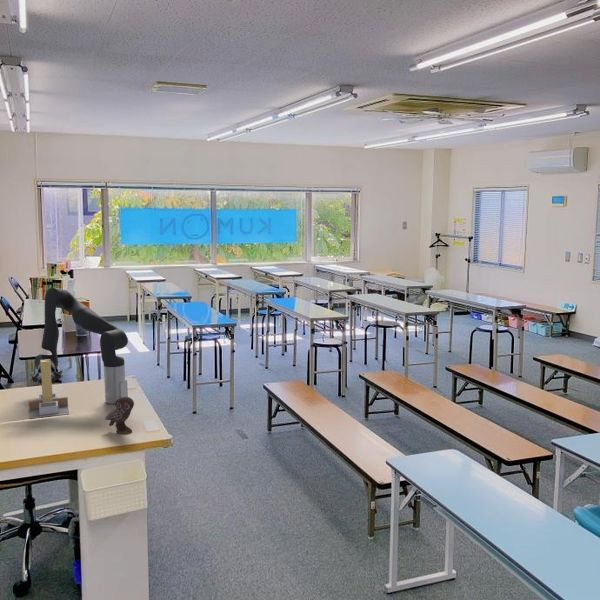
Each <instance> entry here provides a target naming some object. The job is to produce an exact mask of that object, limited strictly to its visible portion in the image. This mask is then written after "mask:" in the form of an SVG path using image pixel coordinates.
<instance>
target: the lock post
mask: <svg viewBox="0 0 600 600" xmlns="http://www.w3.org/2000/svg"><path fill="white" fill-rule="evenodd" d="M40 365H41V379H42V384H41V395H42V396H43V403H44V402H53V395H52V394H53V383H52V382H51V363H50V359H46V360H40Z"/></svg>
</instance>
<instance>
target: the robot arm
mask: <svg viewBox="0 0 600 600" xmlns="http://www.w3.org/2000/svg"><path fill="white" fill-rule="evenodd" d="M57 308H59V309H62V310H63V311H64V310H65V311H66V312H68V313H69V314H71V318H72V320H73V322H74V323H75V324H77V325H78V326H79V327H80V328H81V329H83V330H85V331H87V332H90V333H94V334H98V335H100V338H99V347H100V354H101V360H102V362H103V379H104V381H103V382H104V393H105V394H104V396H105V397H104V398H105V403H106V404H109V405H114V404H115V402H116V401H117V400H118V399H120V398H122V397H129V391H128V380H127V379H126V369H125V359H124V357H122V356H118V355H117V353H116V351H117V350H122V349H123V348H125V347H127V345H128V344H129V337H128V336H127V334H126V332H124V330H122V329H121V328H120V327H117V326H116V325H113V323H110V322H109V321H107V320H106V319H104V318H103V317H102V316H100V315H99V314H97V312H95V311H94V310H93V309H91V308H90V307H88V306H87V305H85V304H84V303H82V302H80V301H79V300H78V299H77V298H76V297H75V296H74V295H73V294H72V293H71V292H69V291H68V290H66V289H63V288H59V287H54V286H51V287H49V288H48V289H47V291H46V292H45V297H44V326H43V327H44V328H43V334H42V341H41V346H40V347H41V349H43V350H45V351H49V352H50V353H51V354H50V355H49V354H44V353H43V354H37V355H36V356H35V358H34V368H35V369H36V370H37V373H36V374H35V373H29V377H30V378H29V379H30V381H32V382H34V383H37V382H38V384H40V385H42V379H41V365H40V360H46V359H50V363H51V382H52V384H53V383H54V382H55V381H56V380H57V381H59V380H60V379H62V378H63V375H64V374H63V370H60V371H58V372H57V371H56V369H57V368H58V367H59V359H58V358H59V357H58V344H59V337H60V329H59V327H58V325H59V324H58V321H57V318H56V310H57Z"/></svg>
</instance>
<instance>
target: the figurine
mask: <svg viewBox="0 0 600 600" xmlns="http://www.w3.org/2000/svg"><path fill="white" fill-rule="evenodd" d="M134 401H135V400H133V399H132V397H129V396H128V397H122V398H120V399H118V400H117V401H116V402H115V407H116V408H115V409H114V410H111V411H110V412H109V413H108V414H107V415H106V416H105V418H104V420H105V421H110V422H109V424H108V426H109V427H112V426H115V428H116V431H115V432H116V433H117V434H119V435H129V434H132V433H133V430H132V428H130V427H129V426H127V425H126V423H125V422H126V421H127V420H128V418H130V416H131V412H132V410H133V408H134V406H135V402H134Z"/></svg>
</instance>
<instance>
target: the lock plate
mask: <svg viewBox="0 0 600 600" xmlns="http://www.w3.org/2000/svg"><path fill="white" fill-rule="evenodd" d="M52 395H53V402H44V403H43V396H42V394H39V396H38V397H39V399H37V400H28V405H29V406H28V407H29V408H28V409H29V410H28V411H29V412H28V418H29V420H32V419H36V418H37V419H40V418H41V419H42V418H44V417H45V418H51V417H52V416H54V417H59V416H61V415H62V416H66V415H69V413H70V410H69V402H68V401H69V400H68V396H64V397H62V396H61V397H58V393H57V392H54V393H53V392H52Z"/></svg>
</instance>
